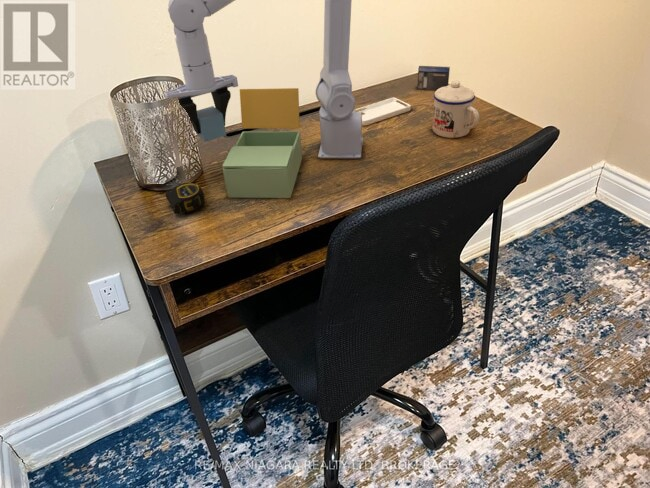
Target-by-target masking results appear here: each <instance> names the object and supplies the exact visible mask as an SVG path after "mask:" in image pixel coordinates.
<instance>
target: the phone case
mask: <svg viewBox="0 0 650 488" xmlns="http://www.w3.org/2000/svg"><path fill="white" fill-rule="evenodd" d="M402 103H403V104H402ZM411 108H412V106H411V104H410V103H407V102H406V101H403V100H401V99H399V98H397V97H389V98H387V99H386V98H385V99H383V100H380V101H376V102H374V103H370V104H367V105H364V106H362V107H358V108H354V111H353V112H357V113H362V127H363V126H369V125H372V124H376V123H378V122H380V121H384V120H387V119H389V118H391V117H392V118H393V117H395V116H398V115H402V114H404V113H407V112H410V111H411Z"/></svg>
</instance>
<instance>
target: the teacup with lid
mask: <svg viewBox="0 0 650 488" xmlns="http://www.w3.org/2000/svg"><path fill="white" fill-rule="evenodd" d="M433 98H434V100H433V101H434V102H433V115H432V131H433V133H434V134H435V135H437V136H439V137H442V138H447V139H456V138H462V137H465V136H467V135H468V134H469V133H470V130H471V129H474V128H475V127H476V126H477V125H478V124H479V122H480V113H479V111H478V110H477V109H476V108H475V107H474V100H475V98H476V95H475V91H474V90H473V89H471V88H469V87H467V86H464V85H462V84H461V82H460V81H459V80H453V81H451V82H450V84H448V86H445V87H441V88H439V89H438V90H435V91H434V94H433ZM472 115H473V122H472ZM471 123H472V124H471Z"/></svg>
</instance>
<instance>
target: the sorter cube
mask: <svg viewBox="0 0 650 488" xmlns="http://www.w3.org/2000/svg"><path fill="white" fill-rule="evenodd" d="M197 117H198V122H199V125H200V131H201V133H200V134H197V133H196V132H195V134H196V135H197V136H198V138H199V139H201V140H202V141H203V142H204V143H206V142H209V141H213V140H216V139H219V138H222V137H226V136H227V130H226V124H225V125H224V120H223V114H222V113H221V112H220V111H219V110H217V109H216V108H215V105H211V106H208V107H205V108H204V107H203V108H201V109H197Z"/></svg>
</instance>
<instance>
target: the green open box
mask: <svg viewBox="0 0 650 488" xmlns="http://www.w3.org/2000/svg"><path fill="white" fill-rule="evenodd" d="M301 138H302V137H301V131H300V130H271V131H270V130H268V131H267V130H265V131H263V130H261V131H259V130H258V131H253V130H252V131H250V130H249V131H248V130H247V131H246V130H244V131H242V132H241V133H240V135H239V137H238V139H237V141H236V143H235V145H232V147H230V150H229V152H228V154H227V156H226V158H225V160H224V161H223V163H222V165H221V167H222V173H223V179H224V183H225V188H226V193H227V198H246V199H250V198H251V199H291V198H292V194H293V191H294V187H295V184H296V181H297V177H298V175H299V171H300V167H301V165H302V160H303V149H302V139H301Z"/></svg>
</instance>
